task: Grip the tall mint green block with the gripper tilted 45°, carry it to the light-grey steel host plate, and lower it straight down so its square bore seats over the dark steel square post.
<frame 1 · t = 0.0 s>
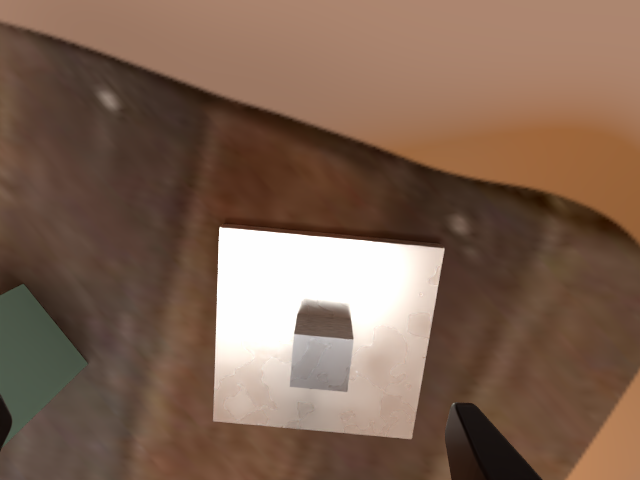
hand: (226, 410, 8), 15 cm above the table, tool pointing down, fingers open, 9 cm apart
host plate: (322, 331, 25), on the table
tall mint green block: (18, 347, 26), on the table
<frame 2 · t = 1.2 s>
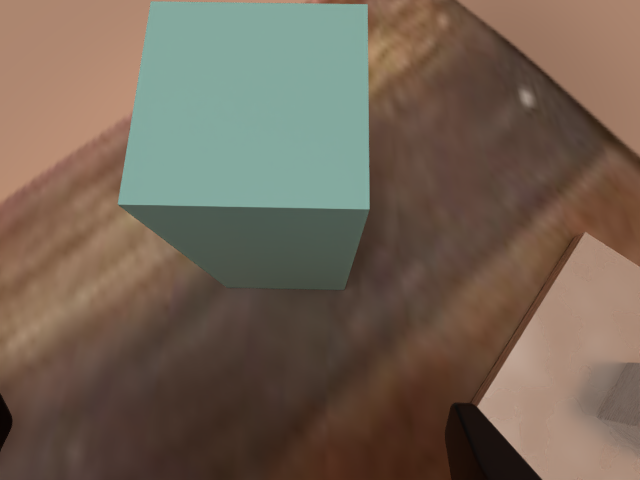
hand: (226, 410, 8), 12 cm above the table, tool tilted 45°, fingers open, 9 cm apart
host plate: (627, 408, 20), on the table
tall mint green block: (288, 232, 22), on the table
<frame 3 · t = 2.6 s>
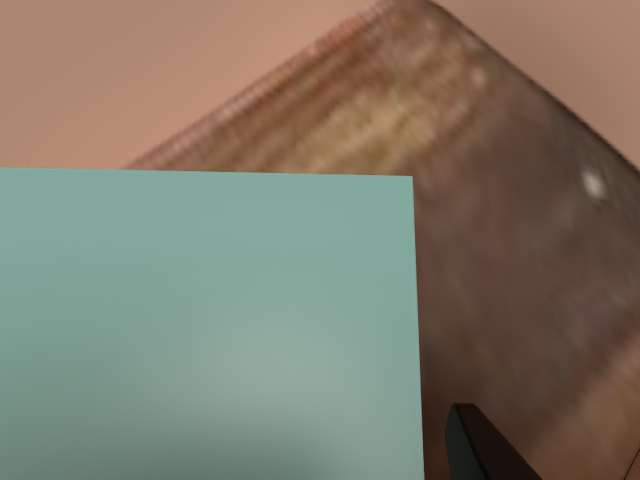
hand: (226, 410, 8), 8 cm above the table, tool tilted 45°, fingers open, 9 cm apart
tall mint green block: (272, 380, 16), on the table
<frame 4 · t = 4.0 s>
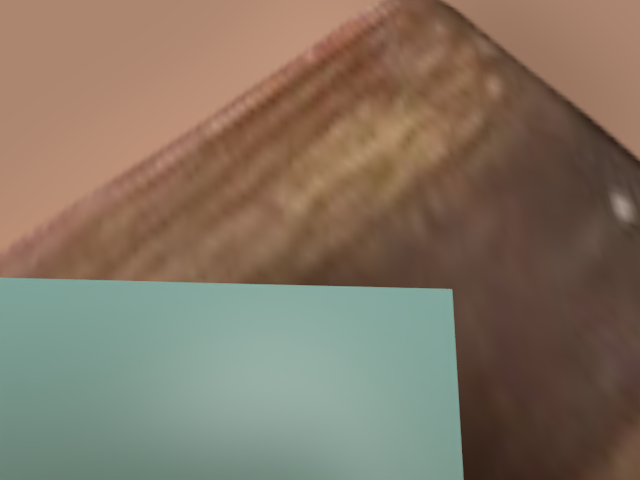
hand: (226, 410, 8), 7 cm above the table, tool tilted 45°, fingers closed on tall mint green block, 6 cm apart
tall mint green block: (264, 432, 14), on the table, touching gripper
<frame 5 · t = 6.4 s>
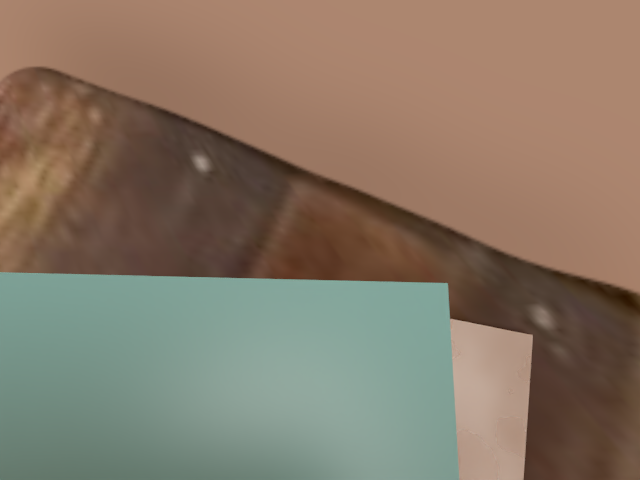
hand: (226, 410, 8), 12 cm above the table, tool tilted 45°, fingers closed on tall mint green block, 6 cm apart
host plate: (383, 439, 20), on the table
tall mint green block: (264, 430, 14), point 6 cm above the table, touching gripper
when the fingers open (8 cm above the table, at t = 9.0 s): tall mint green block stays where it is, resting on host plate.
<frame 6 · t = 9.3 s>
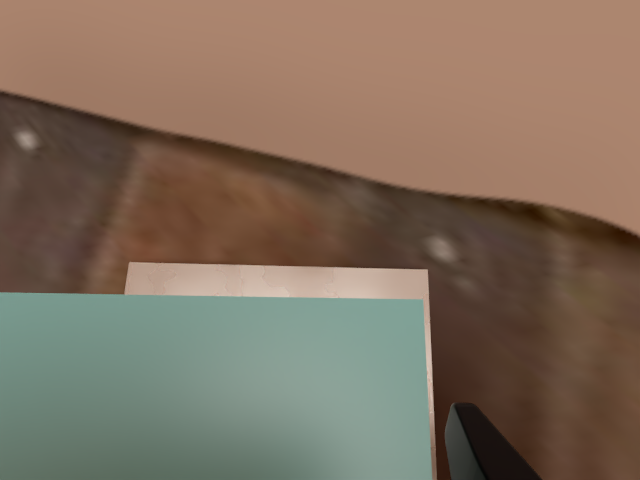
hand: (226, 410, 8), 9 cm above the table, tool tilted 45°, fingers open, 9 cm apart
host plate: (272, 423, 16), on the table
tall mint green block: (268, 427, 15), point 1 cm above the table, touching host plate
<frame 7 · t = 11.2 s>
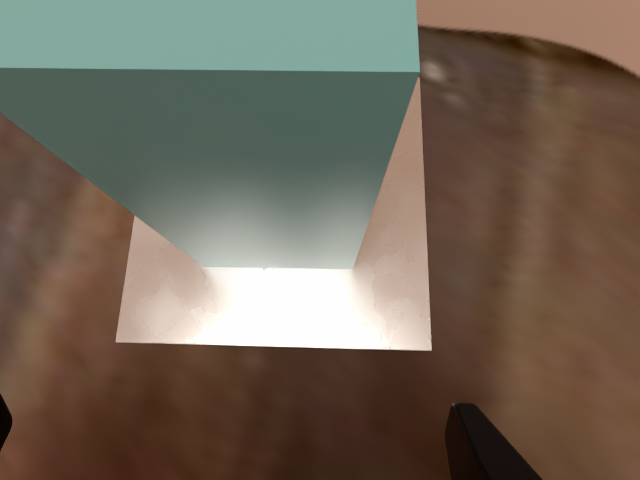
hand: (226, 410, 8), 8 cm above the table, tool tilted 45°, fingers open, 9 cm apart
host plate: (283, 206, 19), on the table
tall mint green block: (280, 197, 18), point 1 cm above the table, touching host plate
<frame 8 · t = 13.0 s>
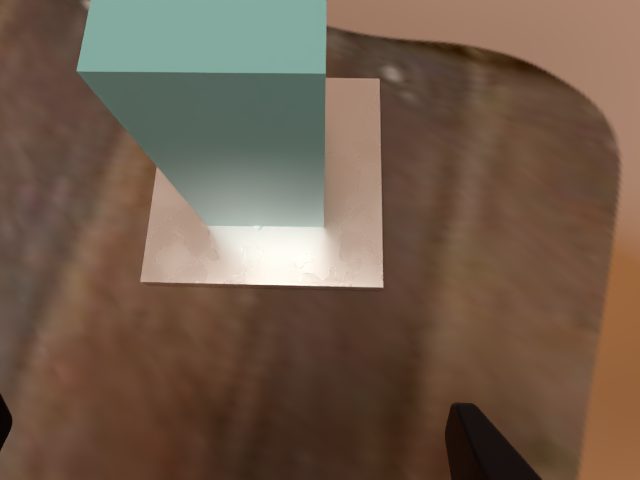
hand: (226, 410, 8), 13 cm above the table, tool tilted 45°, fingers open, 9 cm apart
host plate: (270, 180, 23), on the table
tall mint green block: (268, 172, 23), point 1 cm above the table, touching host plate
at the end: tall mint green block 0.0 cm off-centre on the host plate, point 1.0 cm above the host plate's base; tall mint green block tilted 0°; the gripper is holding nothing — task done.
